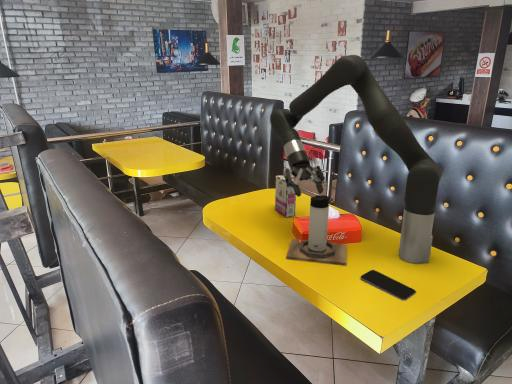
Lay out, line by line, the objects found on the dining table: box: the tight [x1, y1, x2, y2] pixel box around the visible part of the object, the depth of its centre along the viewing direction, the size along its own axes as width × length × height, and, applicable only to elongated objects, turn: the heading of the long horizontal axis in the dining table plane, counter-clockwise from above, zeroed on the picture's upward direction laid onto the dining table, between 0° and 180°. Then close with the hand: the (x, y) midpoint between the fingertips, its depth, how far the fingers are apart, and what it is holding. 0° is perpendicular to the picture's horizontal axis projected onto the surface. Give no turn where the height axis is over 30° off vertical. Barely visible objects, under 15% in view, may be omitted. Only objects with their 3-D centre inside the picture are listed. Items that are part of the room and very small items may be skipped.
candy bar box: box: [274, 174, 297, 219], centre depth 163 cm, size 11×5×16 cm, turn 23°
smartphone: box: [359, 269, 417, 301], centre depth 110 cm, size 7×1×15 cm
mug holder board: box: [285, 238, 348, 266], centre depth 129 cm, size 20×14×2 cm
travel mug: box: [307, 194, 330, 253], centre depth 126 cm, size 6×7×20 cm
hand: (310, 194), depth 129 cm, fingers open, 8 cm apart
